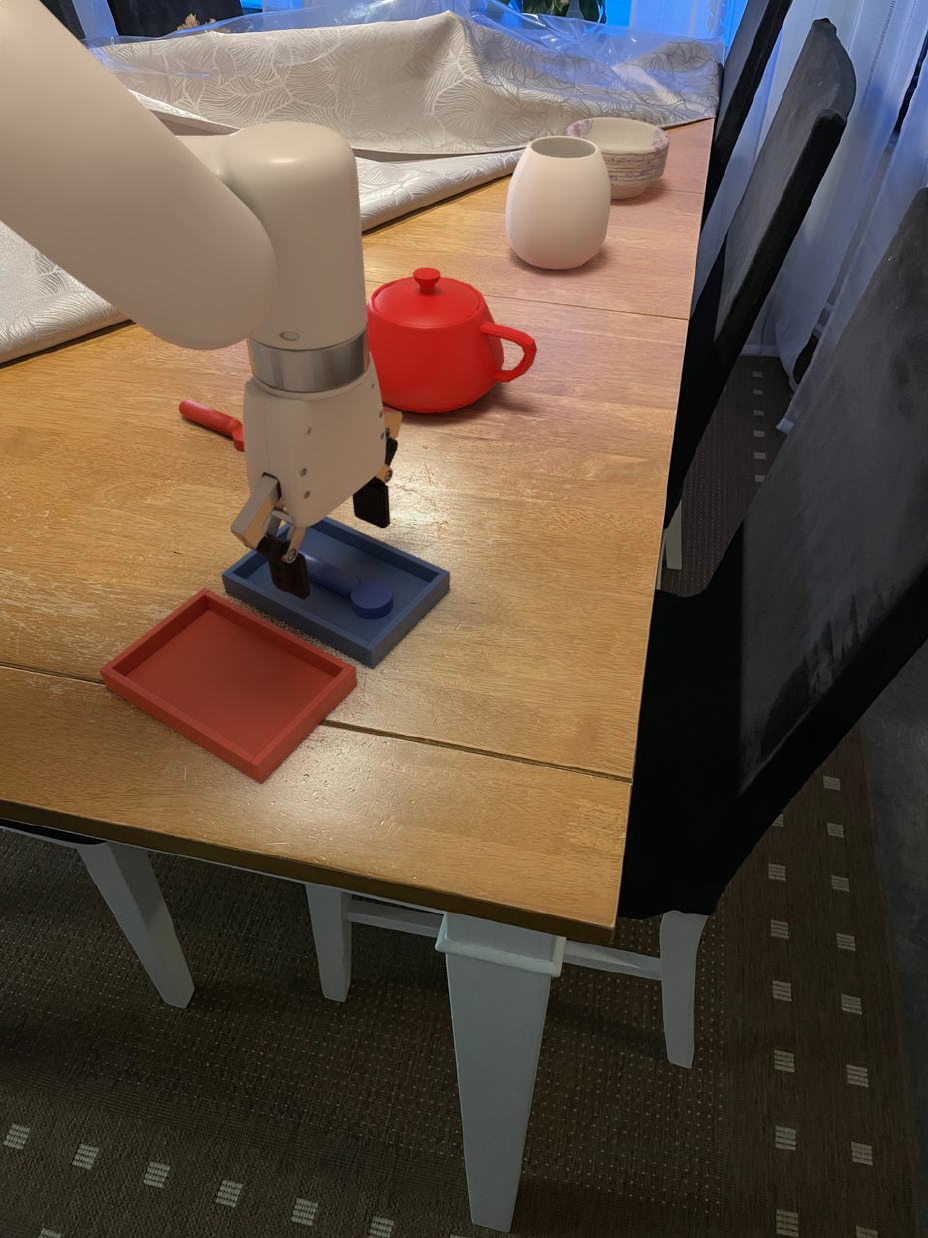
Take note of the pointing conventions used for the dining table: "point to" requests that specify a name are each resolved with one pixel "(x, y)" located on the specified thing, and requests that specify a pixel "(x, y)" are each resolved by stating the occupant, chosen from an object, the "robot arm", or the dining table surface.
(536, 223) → the white vase
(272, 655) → the red tray
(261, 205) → the robot arm
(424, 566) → the blue tray
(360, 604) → the blue spoon
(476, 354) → the teapot
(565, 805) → the dining table surface
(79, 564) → the dining table surface
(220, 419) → the red spoon
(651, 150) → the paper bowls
